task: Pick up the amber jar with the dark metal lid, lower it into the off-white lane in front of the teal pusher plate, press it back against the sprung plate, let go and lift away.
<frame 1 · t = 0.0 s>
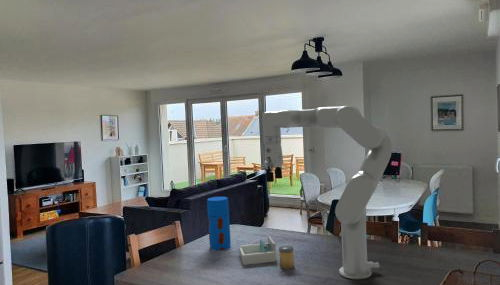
hand: (274, 179, 167), 37 cm above the table, tool pointing down, fingers open, 9 cm apart
amber jar: (287, 266, 167), on the table
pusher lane: (257, 257, 179), on the table
thermos: (220, 247, 198), on the table
pusher plate: (263, 248, 179), point 4 cm above the table, slide at 0.0 cm
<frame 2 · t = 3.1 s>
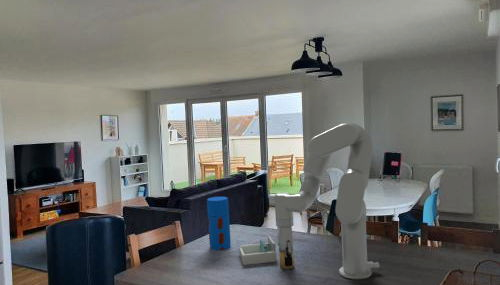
hand: (286, 262, 167), 1 cm above the table, tool pointing down, fingers closed on amber jar, 6 cm apart
amber jar: (287, 266, 167), on the table, touching gripper
everything else where it was.
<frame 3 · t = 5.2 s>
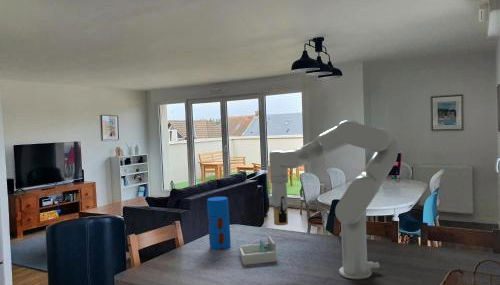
hand: (280, 220, 167), 20 cm above the table, tool pointing down, fingers closed on amber jar, 6 cm apart
amber jar: (281, 223, 167), point 18 cm above the table, touching gripper
everything else where it was.
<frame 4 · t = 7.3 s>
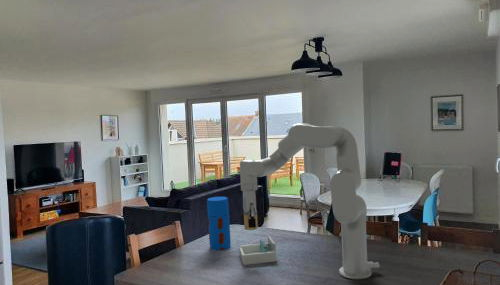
hand: (251, 225, 178), 16 cm above the table, tool pointing down, fingers closed on amber jar, 6 cm apart
amber jar: (251, 228, 178), point 14 cm above the table, touching gripper
everything else where it was.
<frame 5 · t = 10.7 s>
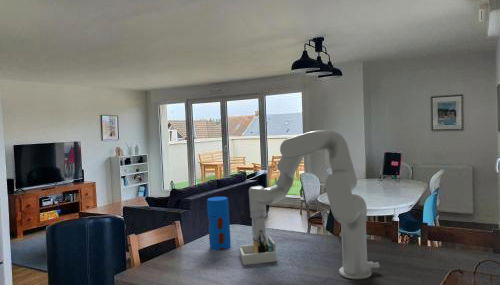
hand: (260, 251, 179), 3 cm above the table, tool pointing down, fingers closed on amber jar, 6 cm apart
amber jar: (260, 254, 179), point 1 cm above the table, touching gripper, pusher plate
pusher plate: (267, 248, 179), point 4 cm above the table, slide at 2.0 cm, touching amber jar
everything else where it was.
when the fingers open (3 cm above the table, at t = 11.7 s): amber jar stays where it is, resting on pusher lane.
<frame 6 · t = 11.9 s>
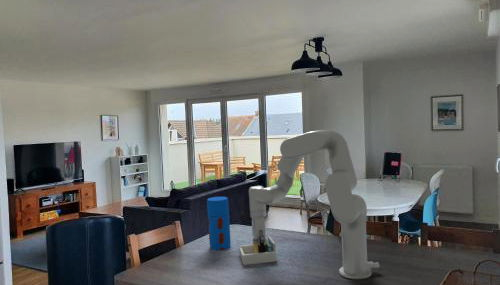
hand: (260, 250, 179), 3 cm above the table, tool pointing down, fingers open, 8 cm apart
amber jar: (260, 255, 179), point 1 cm above the table, touching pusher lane
pusher plate: (267, 248, 179), point 4 cm above the table, slide at 1.9 cm
everything else where it was.
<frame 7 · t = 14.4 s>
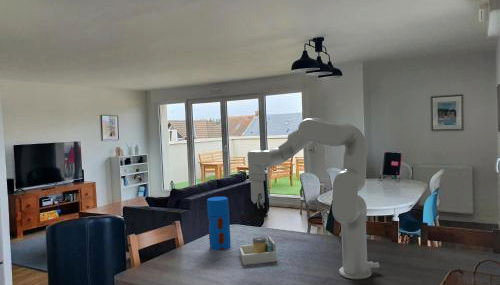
hand: (259, 214, 178), 20 cm above the table, tool pointing down, fingers open, 9 cm apart
amber jar: (260, 255, 179), point 1 cm above the table, touching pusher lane, pusher plate
pusher plate: (267, 248, 179), point 4 cm above the table, slide at 1.9 cm, touching amber jar
everything else where it was.
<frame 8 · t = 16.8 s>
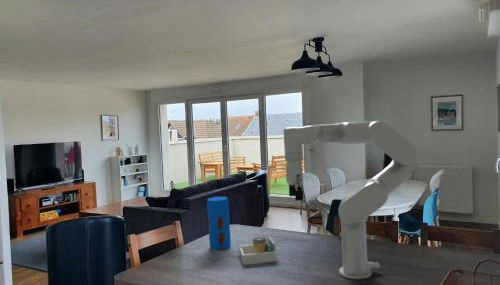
hand: (296, 198, 160), 30 cm above the table, tool pointing down, fingers open, 9 cm apart
nothing on the table moved.
at the end: amber jar 1.9 cm off-centre on the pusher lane, point 0.8 cm above the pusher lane's base; amber jar tilted 0°; the gripper is holding nothing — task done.
